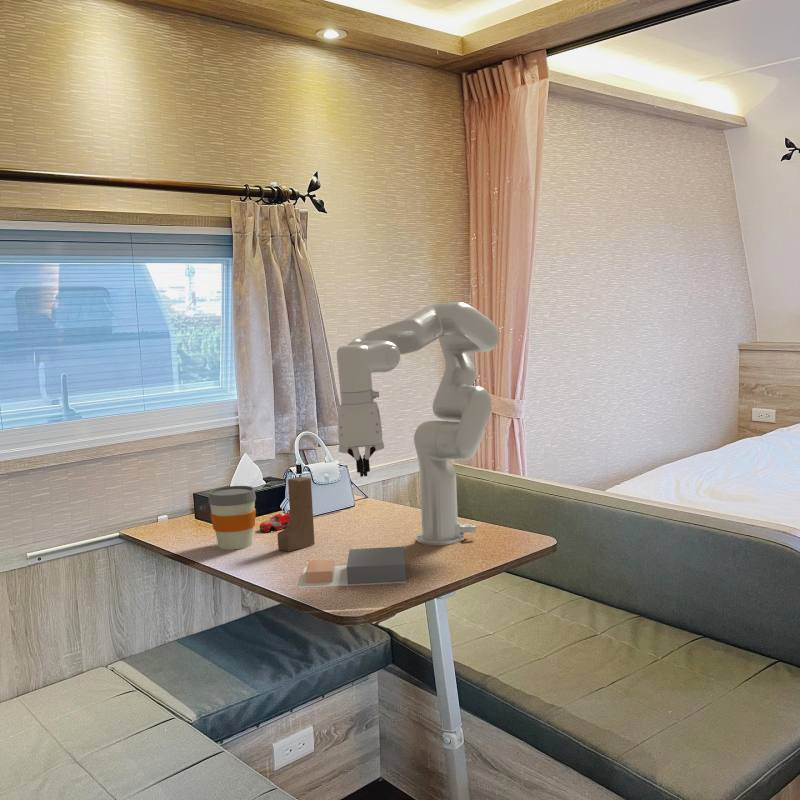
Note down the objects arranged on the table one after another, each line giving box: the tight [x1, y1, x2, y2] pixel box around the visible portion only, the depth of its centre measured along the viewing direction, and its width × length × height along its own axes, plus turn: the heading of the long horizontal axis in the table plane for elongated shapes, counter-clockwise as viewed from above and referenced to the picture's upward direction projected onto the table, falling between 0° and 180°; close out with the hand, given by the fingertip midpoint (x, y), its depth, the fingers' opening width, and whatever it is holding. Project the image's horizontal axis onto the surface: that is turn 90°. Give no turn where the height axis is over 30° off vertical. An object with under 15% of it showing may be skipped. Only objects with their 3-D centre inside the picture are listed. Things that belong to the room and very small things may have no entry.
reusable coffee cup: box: [208, 485, 257, 551], centre depth 220 cm, size 13×13×15 cm
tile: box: [306, 558, 336, 583], centre depth 189 cm, size 6×9×2 cm, turn 1°
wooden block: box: [277, 476, 315, 553], centre depth 215 cm, size 9×4×18 cm, turn 136°
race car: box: [259, 512, 290, 533], centre depth 238 cm, size 13×5×4 cm, turn 130°
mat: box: [297, 564, 407, 589], centre depth 190 cm, size 24×15×1 cm, turn 91°
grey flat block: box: [346, 546, 407, 586], centre depth 189 cm, size 13×14×4 cm
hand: (363, 475), depth 193 cm, fingers closed
